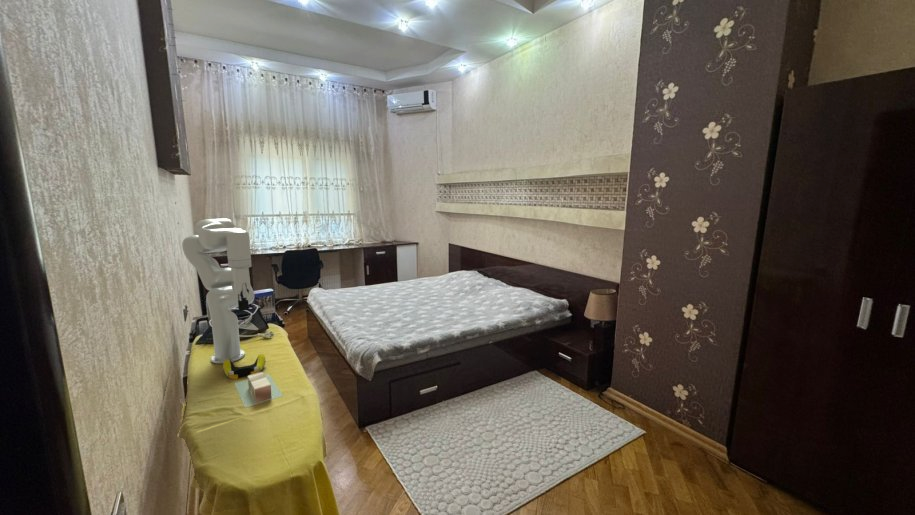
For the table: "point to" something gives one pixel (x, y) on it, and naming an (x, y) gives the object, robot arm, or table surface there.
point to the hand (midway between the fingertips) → (243, 309)
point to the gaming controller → (243, 368)
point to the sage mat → (247, 396)
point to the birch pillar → (259, 387)
